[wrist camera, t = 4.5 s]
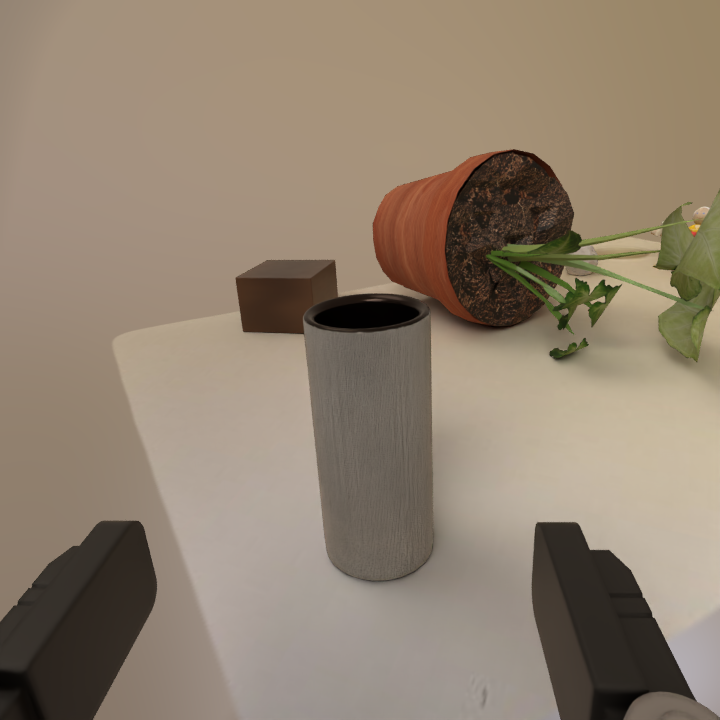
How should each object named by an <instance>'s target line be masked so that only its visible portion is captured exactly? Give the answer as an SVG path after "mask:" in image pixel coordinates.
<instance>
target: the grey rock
mask: <svg viewBox="0 0 720 720" xmlns="http://www.w3.org/2000/svg"><path fill="white" fill-rule="evenodd" d="M570 254H572V255H597V253H596V251H595V250H594V248H593V246H590V245H588V246H583V247H581V248H580V249H579V250H578V251H577V252H574V253H570ZM581 261H584V262H587V263H589V264H592V265H595V266H597V265H598V260H581ZM565 267H566V269H567V271H568V272H569V274H573V275H579V276H582V275H588V274H591V273H592V272H591V271H587V270H583V269H578V268H574V267H569V266H565Z"/></svg>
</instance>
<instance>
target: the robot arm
mask: <svg viewBox="0 0 720 720" xmlns="http://www.w3.org/2000/svg"><path fill="white" fill-rule="evenodd" d="M156 592H157V581H156V575H155V571H154V567H153V563H152V559H151V555H150V551H149V547H148V543H147V539H146V535H145V531H144V527H143V525H142V524H141V523H140V522H139V521H101V522H99V523H98V524H97V525H96V526H95V527H94V529H93V530H92V531H91V532H90V534H89V535H88V536H87V537H86V538H85V540H84V541H83V542H82V543H81V545H80V546H73V547H71V548H70V549H69V550H67V551H66V552H65V553H63V554H62V555H61V556H59V557H58V558H56V559H55V560H54V561H52V562H51V563H49V564H48V566H47V567H46V568H45V569H44V571H43V572H42V573H41V574H40V575H39V577H38V578H37V579H36V580H35V581H34V583H33V584H32V588H28V590H27V591H26V592H25V593H24V594H23V596H22V597H21V598H20V599H19V601H18V604H17V606H13V608H12V609H11V610H10V611H9V612H8V614H7V615H6V616H5V617H4V618H3V620H2V621H1V622H0V720H93V718H94V716H95V715H96V713H97V711H98V709H99V707H100V705H101V703H102V702H103V700H104V698H105V696H106V694H107V692H108V691H109V689H110V687H111V685H112V683H113V681H114V679H115V678H116V676H117V674H118V672H119V670H120V668H121V666H122V665H123V663H124V661H125V659H126V657H127V655H128V654H129V652H130V650H131V648H132V646H133V644H134V642H135V640H136V639H137V637H138V635H139V633H140V631H141V629H142V628H143V626H144V624H145V622H146V620H147V618H148V616H149V614H150V613H151V611H152V608H153V606H154V602H155V598H156ZM532 602H533V610H534V616H535V620H536V624H537V628H538V632H539V636H540V640H541V644H542V648H543V652H544V656H545V660H546V664H547V668H548V671H549V675H550V679H551V683H552V687H553V691H554V695H555V699H556V703H557V707H558V711H559V715H560V719H561V720H720V718H719V717H718V716H717V715H716V714H715V713H713V712H712V711H711V710H709V709H708V708H707V707H705V706H703V705H702V704H700V703H698V702H697V701H696V699H695V698H694V696H693V694H692V692H691V690H690V688H689V686H688V684H687V682H686V680H685V678H684V676H683V674H682V672H681V670H680V668H679V666H678V664H677V662H676V660H675V658H674V656H673V654H672V652H671V650H670V648H669V646H668V644H667V642H666V640H665V638H664V636H663V634H662V632H661V630H660V628H659V626H658V624H657V622H656V620H655V618H653V617H652V612H651V610H650V608H649V606H648V604H647V602H646V600H645V598H643V596H642V592H641V590H640V588H639V586H638V584H637V582H636V580H635V578H634V576H633V574H632V572H631V570H630V569H629V568H628V567H627V566H626V565H625V564H623V563H622V562H621V561H620V560H619V559H618V558H617V557H616V556H615V555H614V554H613V553H612V552H611V551H609V550H590V549H589V547H588V544H587V542H586V540H585V537H584V535H583V533H582V530H581V528H580V526H579V524H578V523H576V522H538V523H537V524H536V527H535V539H534V555H533V571H532Z"/></svg>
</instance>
